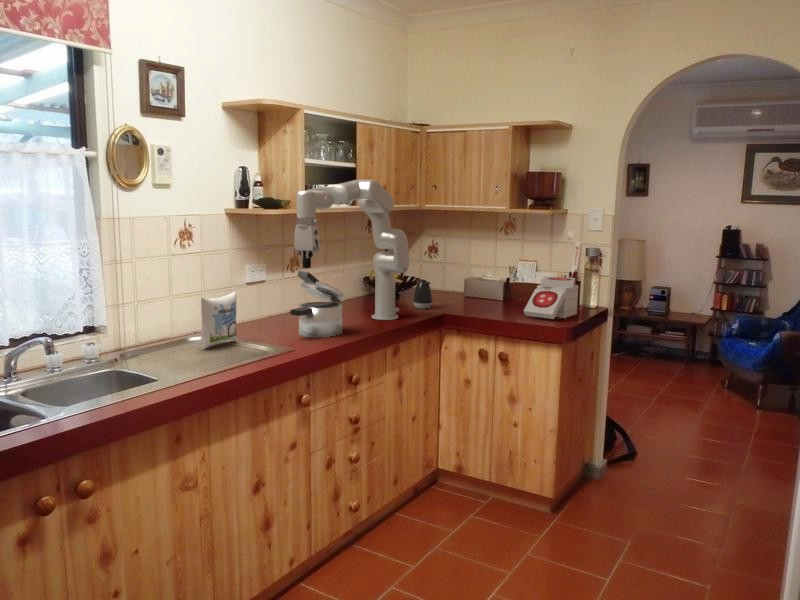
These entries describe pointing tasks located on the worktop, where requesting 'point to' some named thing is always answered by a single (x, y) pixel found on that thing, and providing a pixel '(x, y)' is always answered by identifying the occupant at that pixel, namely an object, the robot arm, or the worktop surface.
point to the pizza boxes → (553, 298)
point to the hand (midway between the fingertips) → (306, 267)
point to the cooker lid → (320, 288)
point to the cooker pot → (319, 319)
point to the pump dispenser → (422, 295)
